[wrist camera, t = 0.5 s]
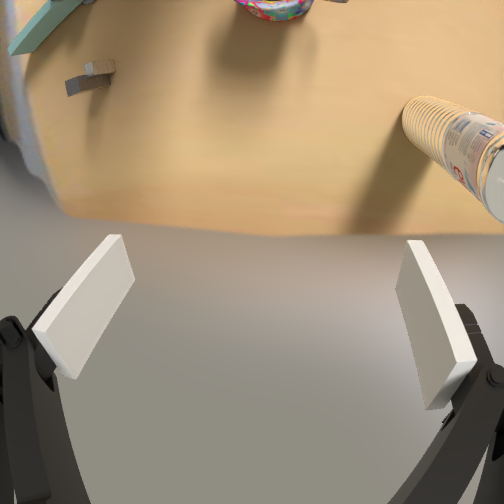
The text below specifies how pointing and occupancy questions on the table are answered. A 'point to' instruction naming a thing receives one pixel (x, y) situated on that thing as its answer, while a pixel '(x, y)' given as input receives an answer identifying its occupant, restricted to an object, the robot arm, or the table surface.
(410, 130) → the water bottle
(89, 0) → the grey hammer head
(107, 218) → the table surface
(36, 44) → the teal rectangular bar
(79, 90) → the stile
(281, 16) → the mug
